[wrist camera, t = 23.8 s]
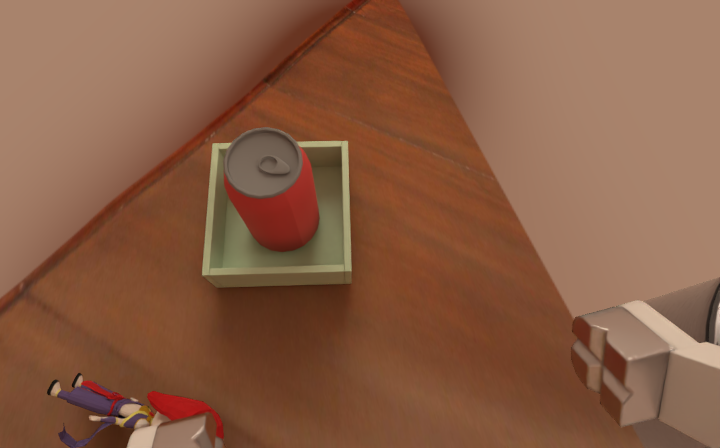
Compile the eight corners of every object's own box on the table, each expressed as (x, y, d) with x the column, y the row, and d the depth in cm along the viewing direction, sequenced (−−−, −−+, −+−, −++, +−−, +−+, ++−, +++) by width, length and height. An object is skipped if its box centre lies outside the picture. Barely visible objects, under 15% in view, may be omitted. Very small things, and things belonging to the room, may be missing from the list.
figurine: (104, 340, 40) (265, 409, 39) (61, 437, 39) (225, 511, 38) (52, 350, 34) (243, 432, 32) (-1, 465, 33) (193, 556, 31)
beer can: (305, 263, 43) (289, 217, 32) (238, 240, 43) (199, 187, 32) (330, 200, 45) (323, 136, 34) (266, 179, 46) (238, 109, 34)
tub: (348, 163, 47) (347, 140, 43) (351, 283, 43) (351, 271, 39) (225, 166, 47) (212, 143, 42) (216, 287, 43) (201, 275, 38)
